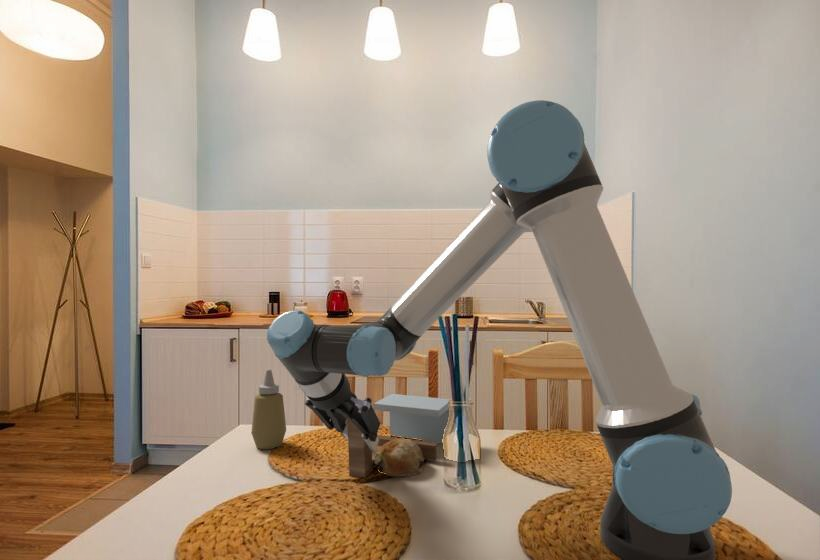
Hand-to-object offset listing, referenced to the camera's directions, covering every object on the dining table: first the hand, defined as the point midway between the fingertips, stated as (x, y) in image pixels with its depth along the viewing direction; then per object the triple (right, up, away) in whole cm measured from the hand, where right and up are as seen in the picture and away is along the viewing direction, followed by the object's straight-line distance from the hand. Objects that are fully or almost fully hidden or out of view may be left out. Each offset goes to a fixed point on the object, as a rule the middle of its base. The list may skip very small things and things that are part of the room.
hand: (366, 444), depth 101 cm
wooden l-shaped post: (+6, -5, +1) cm, 8 cm away
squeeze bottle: (-24, -5, +14) cm, 29 cm away
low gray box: (+10, -5, +14) cm, 18 cm away
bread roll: (+7, -5, 0) cm, 9 cm away
